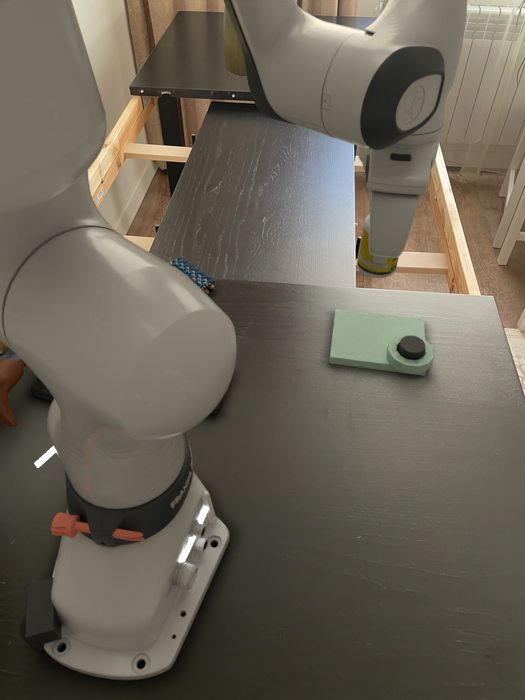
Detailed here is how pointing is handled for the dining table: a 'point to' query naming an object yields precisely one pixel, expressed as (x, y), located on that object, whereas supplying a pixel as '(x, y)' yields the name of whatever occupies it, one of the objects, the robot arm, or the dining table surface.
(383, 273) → the supplement bottle
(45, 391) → the eraser
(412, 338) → the tare button
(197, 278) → the woven mat
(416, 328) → the scale
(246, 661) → the dining table surface
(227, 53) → the vase
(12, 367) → the figurine
